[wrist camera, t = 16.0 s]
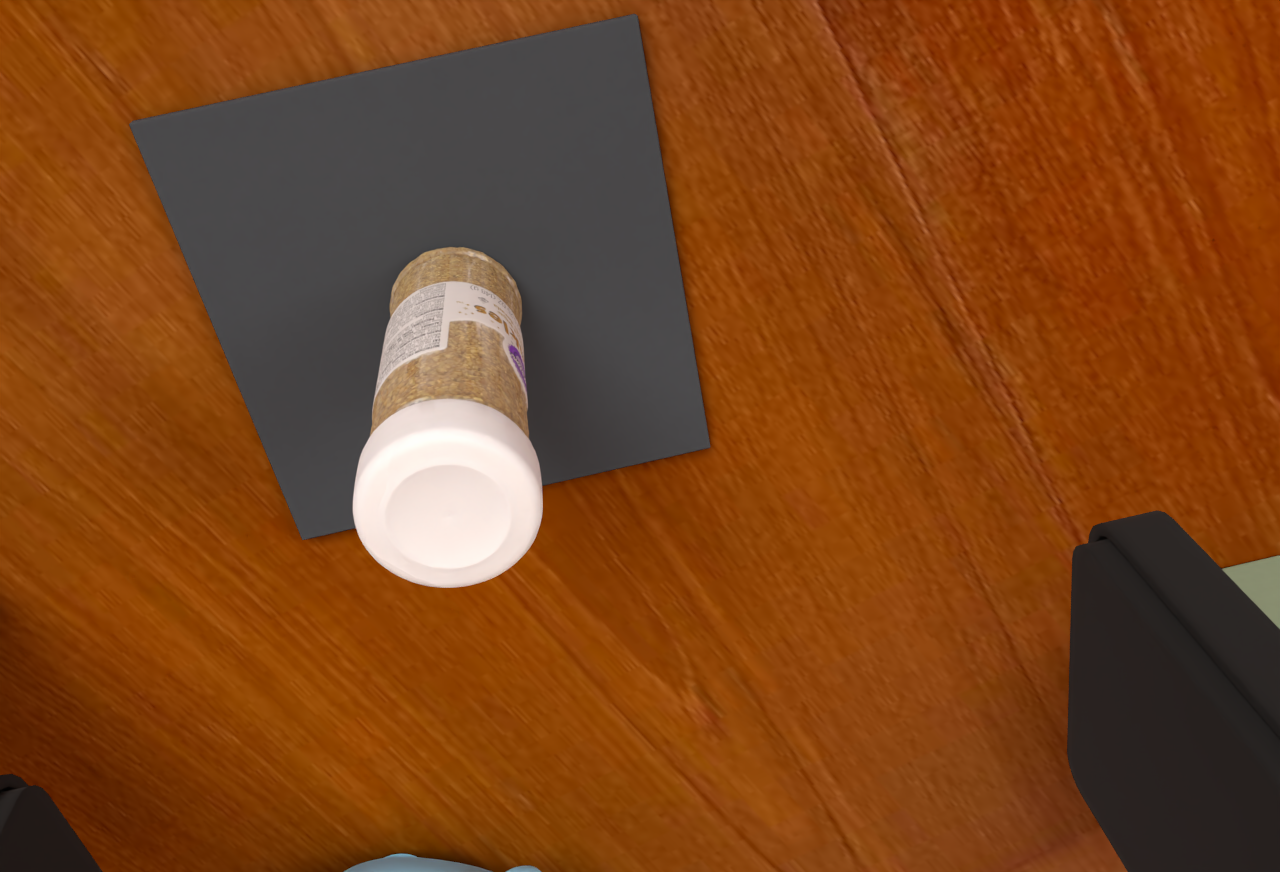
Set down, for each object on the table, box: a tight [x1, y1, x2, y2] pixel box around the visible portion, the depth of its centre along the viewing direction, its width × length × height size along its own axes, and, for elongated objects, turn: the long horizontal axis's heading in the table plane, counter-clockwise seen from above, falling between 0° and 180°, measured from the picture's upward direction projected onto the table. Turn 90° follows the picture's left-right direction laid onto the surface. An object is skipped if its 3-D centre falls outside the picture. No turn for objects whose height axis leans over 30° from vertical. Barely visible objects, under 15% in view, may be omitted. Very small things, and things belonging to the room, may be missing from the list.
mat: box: [129, 14, 710, 540], centre depth 37 cm, size 16×16×1 cm
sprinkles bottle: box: [353, 247, 543, 588], centre depth 31 cm, size 5×5×14 cm
